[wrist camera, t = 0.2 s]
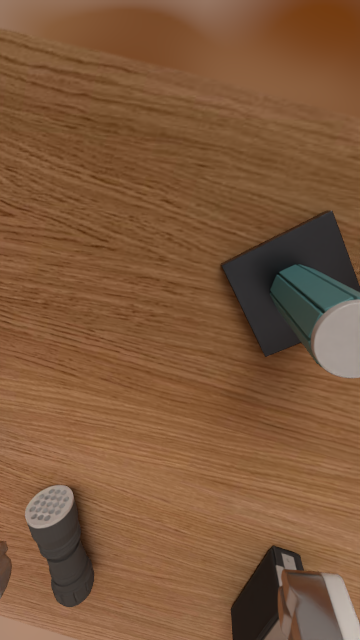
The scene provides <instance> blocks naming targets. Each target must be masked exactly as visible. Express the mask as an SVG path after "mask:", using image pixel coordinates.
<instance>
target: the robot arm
mask: <svg viewBox="0 0 360 640" xmlns="http://www.w3.org/2000/svg"><path fill="white" fill-rule="evenodd" d="M7 550H8V547H7V544H6V541H0V598H1V597H2V595H3V593H4V591H5V589H6V587H7V585H8V582H9V579H10V575H11V569H12V564H11V559H10V558H9V557H8V556H7V555H6V554H5V553H6V552H7ZM281 580H282V586H280V587H279V590H278V613H279V621H280V627H281V631H282V633H283V634H284V636H285V637H286V638H287V640H360V623H359V621H358V618H357V615H356V613H355V610H354V607H353V605H352V602H351V599H350V597H349V594H348V591H347V589H346V586H345V583H344V581H343V579H342V578H341V576H340V575H338V574H333V573H321V572H315V571H302V570H290V569H283V570H282V574H281Z"/></svg>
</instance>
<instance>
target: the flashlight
mask: <svg viewBox="0 0 360 640" xmlns="http://www.w3.org/2000/svg"><path fill="white" fill-rule="evenodd" d="M25 518H26V521H27V523H28V526H29V529H30V532H31V535H32V537H33V539H34V540H35V541H36V542H37V545H38V547H39V550H40V553H41V555H42V556H43V557H45V558H46V559H47V561H48V564H49V571H50V574H51V577H52V579H51V587H52V590H53V593H54V596H55V598H56V600H57V602H59V603H60V604H62V605H64V606H66V607H73V606H76V605H78V604H80V603H81V602H83V601H84V600H85V599H86V598H87V596H88V595H89V593H90V592H91V589H92V586H93V582H94V570H93V566H92V563H91V560H90V559H89V557H88V556H87V555H86V552H85V549H84V547H83V546H82V543H81V540H80V535H81V528H80V524H79V521H78V510H77V506H76V503H75V499H74V496H73V492H72V490H71V489H70V488H69V487H67V486H64V485H55V486H51V487H48V488H46V489H44V490H42V491H41V492H39V493H38V494H37V495H36V496H35V497H34V498H33V499H32V500H31V501H30V502H29V504H28V506H27V508H26V511H25Z"/></svg>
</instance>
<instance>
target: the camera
mask: <svg viewBox="0 0 360 640" xmlns="http://www.w3.org/2000/svg"><path fill="white" fill-rule="evenodd" d="M283 569H290V570H302V571H304V569H303V566H302V562H301V557H300V555H299V554H296V553H294V552H291V551H288V550H285V549H281V548H278V547H275V546H272V548H271V549H270V550H269V551H268V553H267V554H266V556H265V558H264V559H263V561H262V562H261V564H260V565H259V567H258V568H257V570H256V571H255V573H254V574H253V576H252V578H251V579H250V581H249V582H248V584H247V585H246V587H245V588H244V590H243V591H242V593H241V594H240V596H239V597H238V599H237V601H236V602H235V604H234V605H233V607H232V608H231V618H232V634H233V640H287V638H286V637H285V636H284V634H283V633H282V631H281V627H280V621H279V613H278V590H279V587H280V586H282V580H281V574H282V570H283Z"/></svg>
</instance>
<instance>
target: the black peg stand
mask: <svg viewBox="0 0 360 640" xmlns="http://www.w3.org/2000/svg"><path fill="white" fill-rule="evenodd" d="M298 264H300V265H303V266H306V267H309V268H312V269H315V270H317V271H319V272H321V273H323V274H325V275H327V276H329V277H330V278H332V279H334V280H336V281H338V282H340V283H342V284H344V285H346V286H348V287H350V288H352V289H354V290H356V291H358V292H360V286H359V283H358V280H357V278H356V275H355V272H354V269H353V266H352V264H351V261H350V258H349V255H348V253H347V250H346V247H345V244H344V242H343V239H342V236H341V233H340V231H339V228H338V225H337V222H336V219H335V217H334V214H333V211H325V212H323V213H321V214H319V215H317V216H315V217H313V218H311V219H309V220H307V221H305V222H303V223H301V224H299V225H297V226H295V227H293V228H291V229H289V230H287V231H285V232H283V233H281V234H279V235H277V236H275V237H273V238H271V239H269V240H267V241H265V242H263V243H261V244H259V245H257V246H255V247H253V248H251V249H249V250H247V251H245V252H243V253H241V254H239V255H237V256H235V257H233V258H231V259H229V260H227V261H225V262H223V263H221V265H222V268H223V270H224V272H225V274H226V276H227V278H228V280H229V282H230V284H231V286H232V288H233V290H234V293H235V295H236V297H237V299H238V301H239V303H240V305H241V307H242V309H243V311H244V313H245V316H246V318H247V320H248V322H249V324H250V326H251V328H252V330H253V332H254V334H255V336H256V338H257V341H258V343H259V345H260V347H261V349H262V351H263V353H264V355H265V357H267V356H269V355H272V354H274V353H277V352H279V351H281V350H284V349H286V348H289V347H291V346H294V345H296V344H298V343H301V341H300V340H299V338H298V337H297V335H296V334H295V333H294V331H293V330H292V329H291V327H290V326H289V325H288V323H287V322H286V320H285V319H284V318H283V316H282V315H281V314H280V312H279V311H278V309H277V308H276V306H275V304H274V302H273V300H272V297H271V295H270V293H271V291H270V289H271V287H272V284H273V282H274V280H275V277H276V275H280V274H279V272H280V271H282V270H285V269H287V268H289V267H291V266H293V265H297V266H298Z"/></svg>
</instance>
